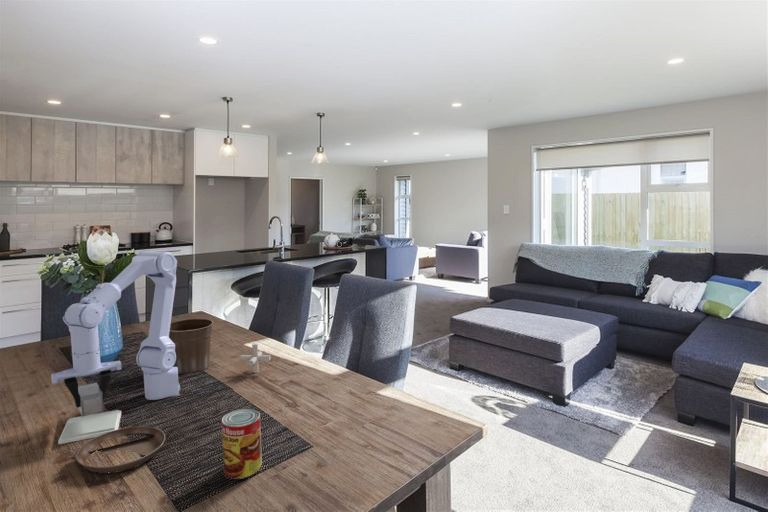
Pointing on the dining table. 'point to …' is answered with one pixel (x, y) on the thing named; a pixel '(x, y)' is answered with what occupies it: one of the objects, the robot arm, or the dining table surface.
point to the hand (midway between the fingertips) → (90, 403)
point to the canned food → (241, 443)
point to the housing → (90, 399)
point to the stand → (90, 426)
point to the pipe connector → (255, 358)
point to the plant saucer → (123, 447)
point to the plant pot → (191, 344)
